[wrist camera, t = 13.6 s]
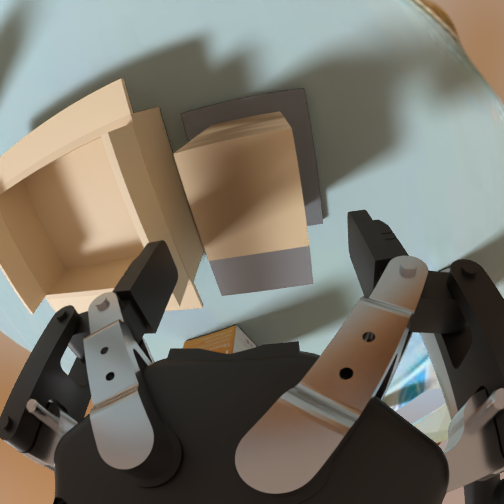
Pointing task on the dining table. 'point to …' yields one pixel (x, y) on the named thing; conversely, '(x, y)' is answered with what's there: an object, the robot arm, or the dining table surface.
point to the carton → (93, 204)
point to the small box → (222, 341)
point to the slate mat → (294, 113)
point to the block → (248, 203)
